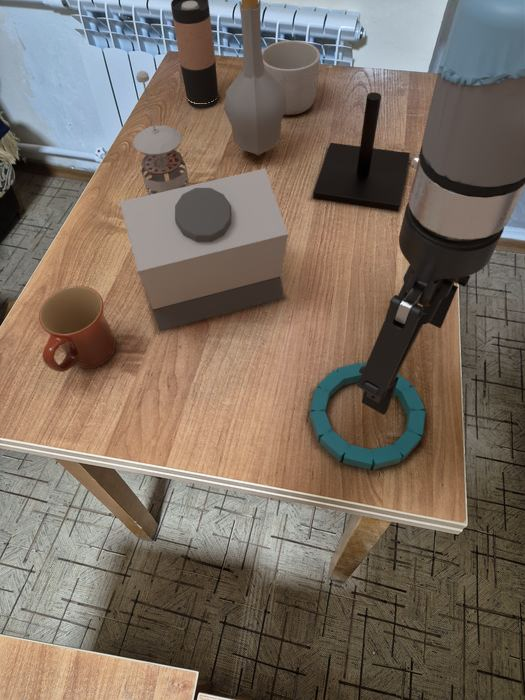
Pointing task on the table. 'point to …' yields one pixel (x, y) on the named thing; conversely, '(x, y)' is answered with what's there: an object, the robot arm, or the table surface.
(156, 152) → the french press
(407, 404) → the ring
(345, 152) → the post
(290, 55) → the planter
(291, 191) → the table surface
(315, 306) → the table surface
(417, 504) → the table surface
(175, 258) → the alarm clock
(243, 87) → the bottle
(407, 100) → the table surface
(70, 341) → the mug
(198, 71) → the travel mug
